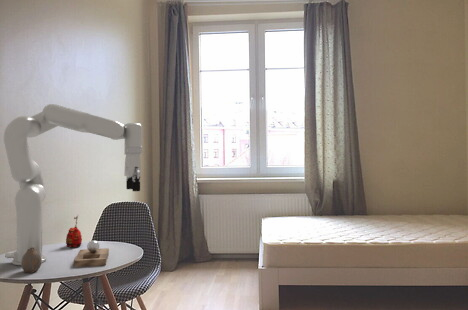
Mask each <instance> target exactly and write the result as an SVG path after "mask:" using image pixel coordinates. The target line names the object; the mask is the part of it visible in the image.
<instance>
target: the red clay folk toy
mask: <svg viewBox="0 0 468 310" xmlns="http://www.w3.org/2000/svg"><path fill="white" fill-rule="evenodd" d="M78 218H79V215H77V216H74V218H73V219H74V220H75V226H74V227H70V228H69V229H68V233H66V239H65V241H66V242H65V244H66V247H68V248H72V249H76V248H78V247H80V246H82V240H83V238H82V237H83V236H82V234H81V231H80V229H79V228H78V226H77V224H78Z"/></svg>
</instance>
